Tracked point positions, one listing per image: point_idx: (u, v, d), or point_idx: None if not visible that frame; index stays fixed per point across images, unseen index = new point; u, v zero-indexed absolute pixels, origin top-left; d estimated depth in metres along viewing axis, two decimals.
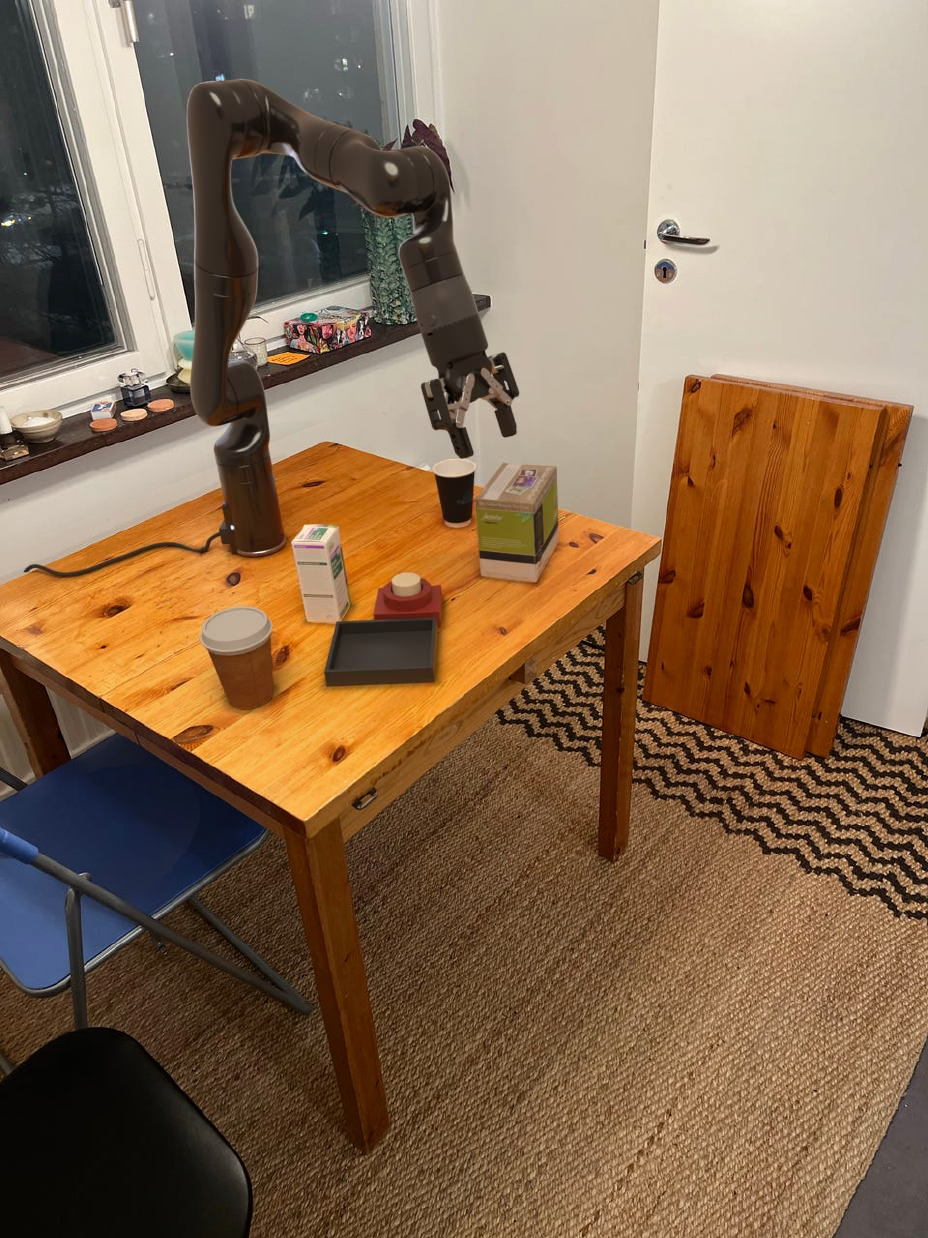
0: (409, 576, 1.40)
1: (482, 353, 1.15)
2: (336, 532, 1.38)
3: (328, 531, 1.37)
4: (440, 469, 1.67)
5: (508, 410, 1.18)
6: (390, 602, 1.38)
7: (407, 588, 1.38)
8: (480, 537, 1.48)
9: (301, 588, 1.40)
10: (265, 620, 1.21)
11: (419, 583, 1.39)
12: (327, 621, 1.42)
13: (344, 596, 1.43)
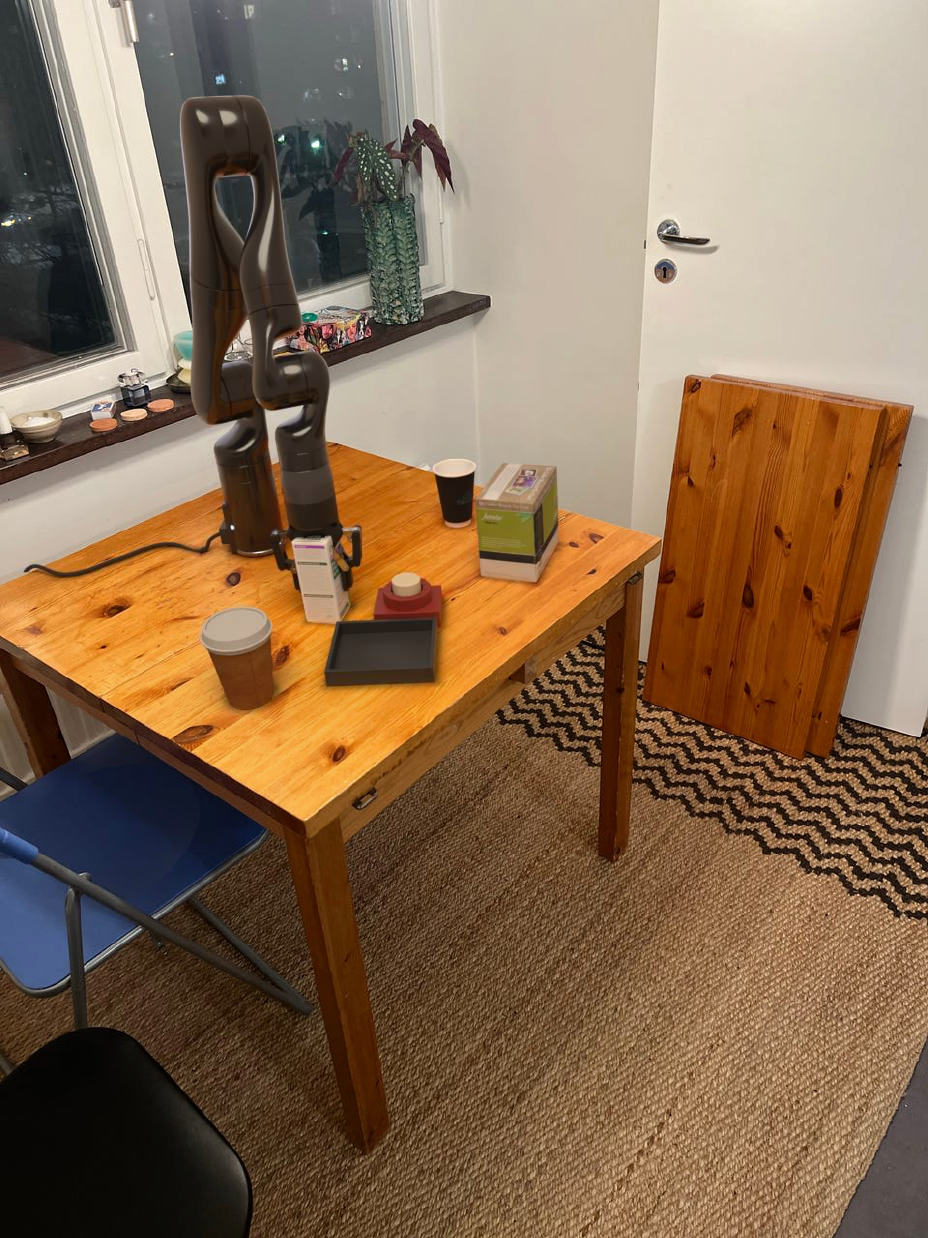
0: (409, 576, 1.40)
1: (331, 524, 1.35)
2: None
3: None
4: (440, 469, 1.67)
5: (343, 573, 1.39)
6: (390, 602, 1.38)
7: (407, 588, 1.38)
8: (480, 537, 1.48)
9: (301, 588, 1.40)
10: (265, 620, 1.21)
11: (419, 583, 1.39)
12: (327, 621, 1.42)
13: (344, 596, 1.43)
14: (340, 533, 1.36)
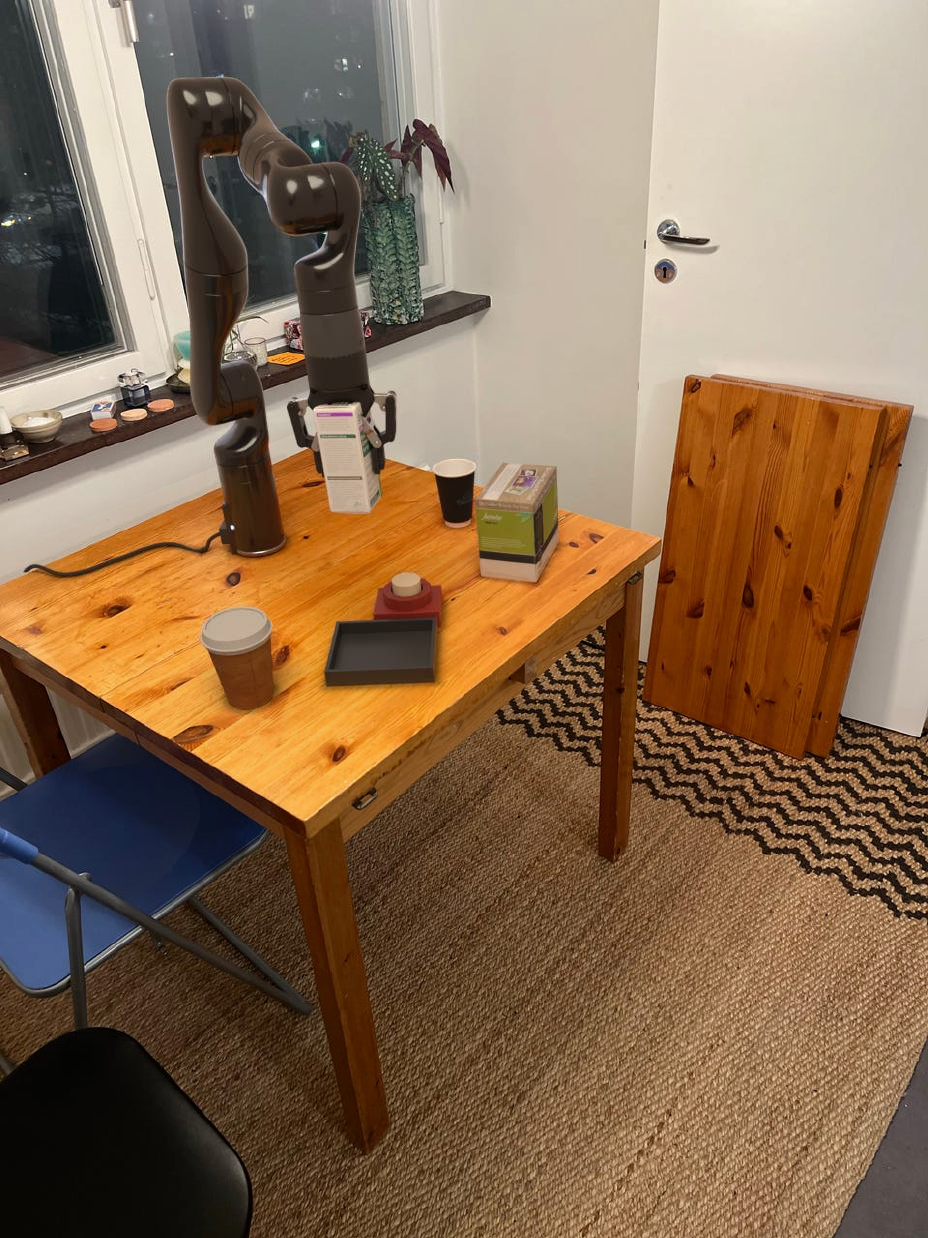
0: (409, 576, 1.40)
1: (361, 387, 1.13)
2: None
3: None
4: (440, 469, 1.67)
5: (374, 451, 1.17)
6: (390, 602, 1.38)
7: (407, 588, 1.38)
8: (480, 537, 1.48)
9: (324, 469, 1.17)
10: (265, 620, 1.21)
11: (419, 583, 1.39)
12: (355, 510, 1.20)
13: (374, 481, 1.20)
14: (371, 399, 1.14)
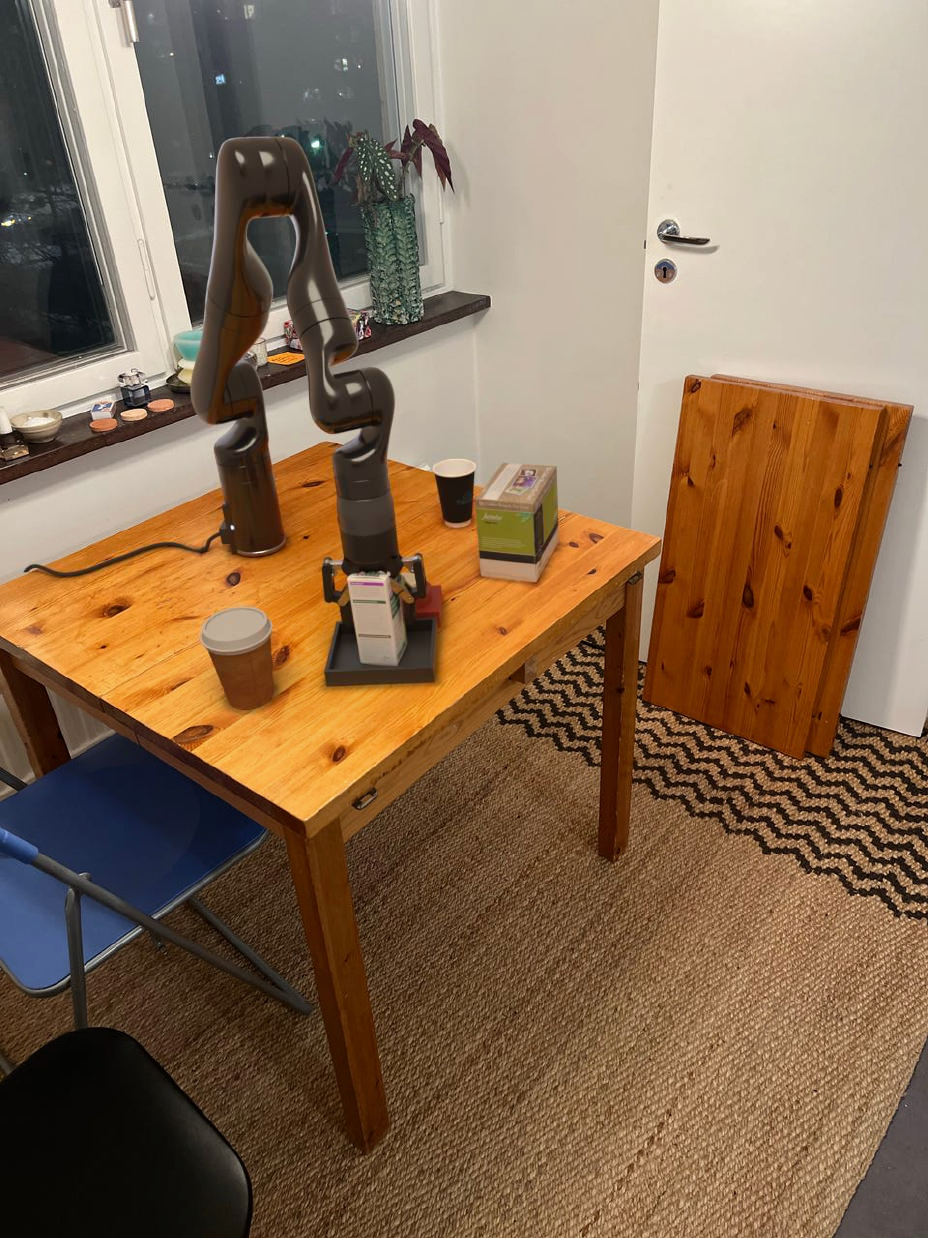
0: (409, 576, 1.40)
1: (391, 556, 1.23)
2: None
3: None
4: (440, 469, 1.67)
5: (407, 606, 1.27)
6: None
7: None
8: (480, 537, 1.48)
9: (356, 628, 1.28)
10: (265, 620, 1.21)
11: None
12: (383, 663, 1.30)
13: (401, 635, 1.31)
14: (400, 566, 1.24)
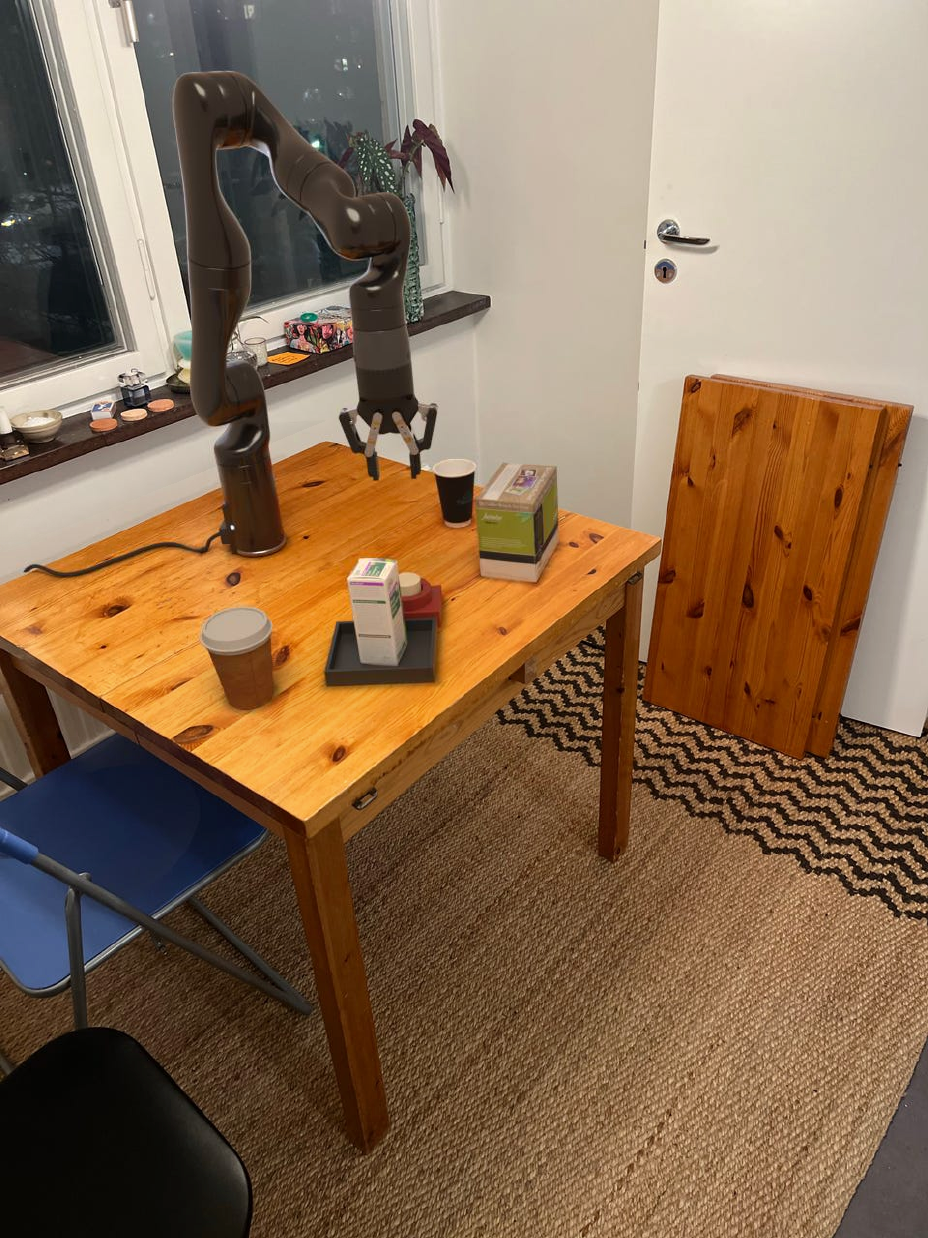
0: (409, 576, 1.40)
1: (407, 397, 1.23)
2: (395, 567, 1.26)
3: (386, 566, 1.25)
4: (440, 469, 1.67)
5: (411, 458, 1.28)
6: None
7: (407, 588, 1.38)
8: (480, 537, 1.48)
9: (356, 628, 1.28)
10: (265, 620, 1.21)
11: (419, 583, 1.39)
12: (383, 663, 1.30)
13: (401, 635, 1.31)
14: (415, 407, 1.24)
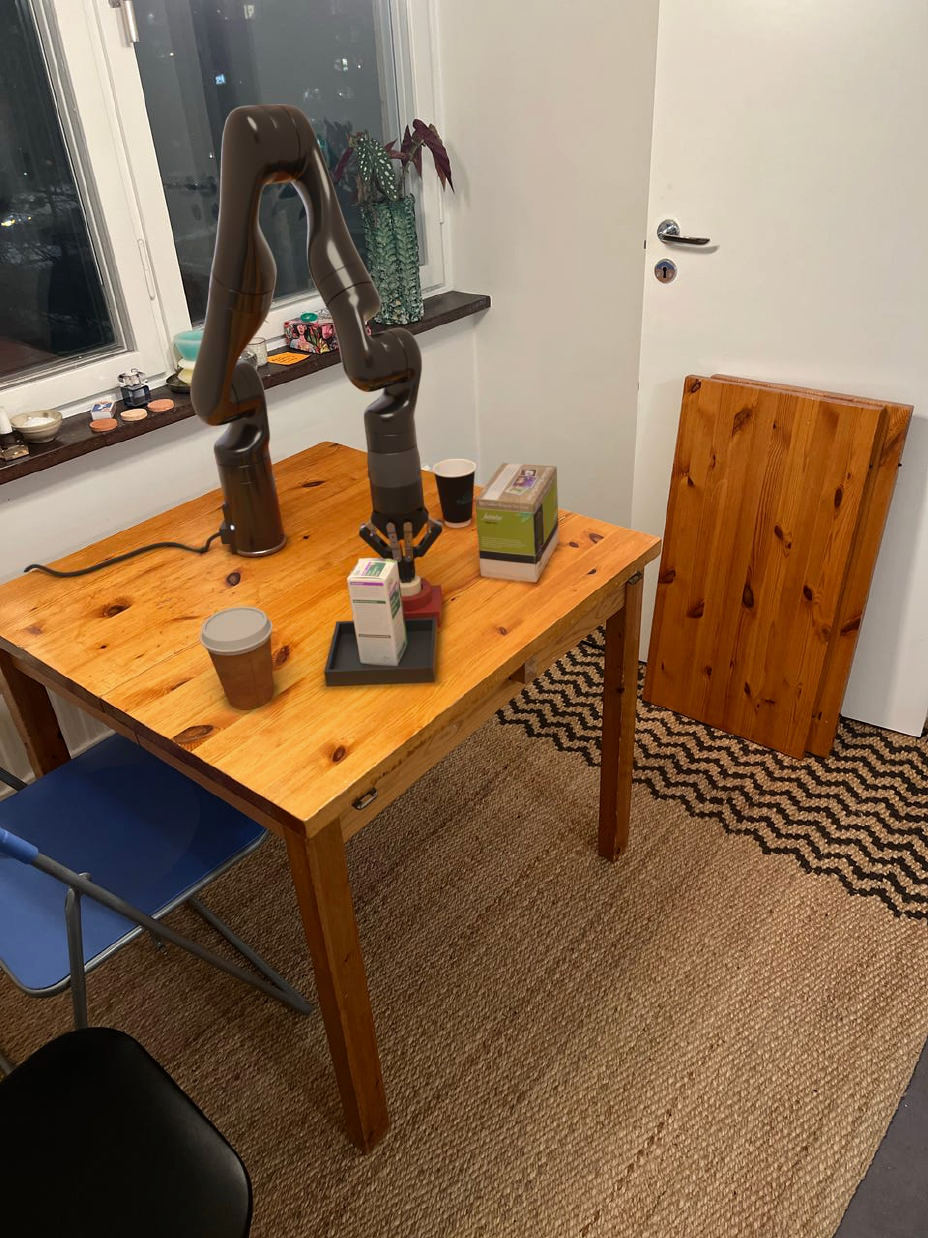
0: None
1: (417, 508, 1.32)
2: (395, 567, 1.26)
3: (386, 566, 1.25)
4: (440, 469, 1.67)
5: (406, 564, 1.37)
6: None
7: (407, 589, 1.38)
8: (480, 537, 1.48)
9: (356, 628, 1.28)
10: (265, 620, 1.21)
11: (419, 584, 1.39)
12: (383, 663, 1.30)
13: (401, 635, 1.31)
14: (426, 517, 1.33)
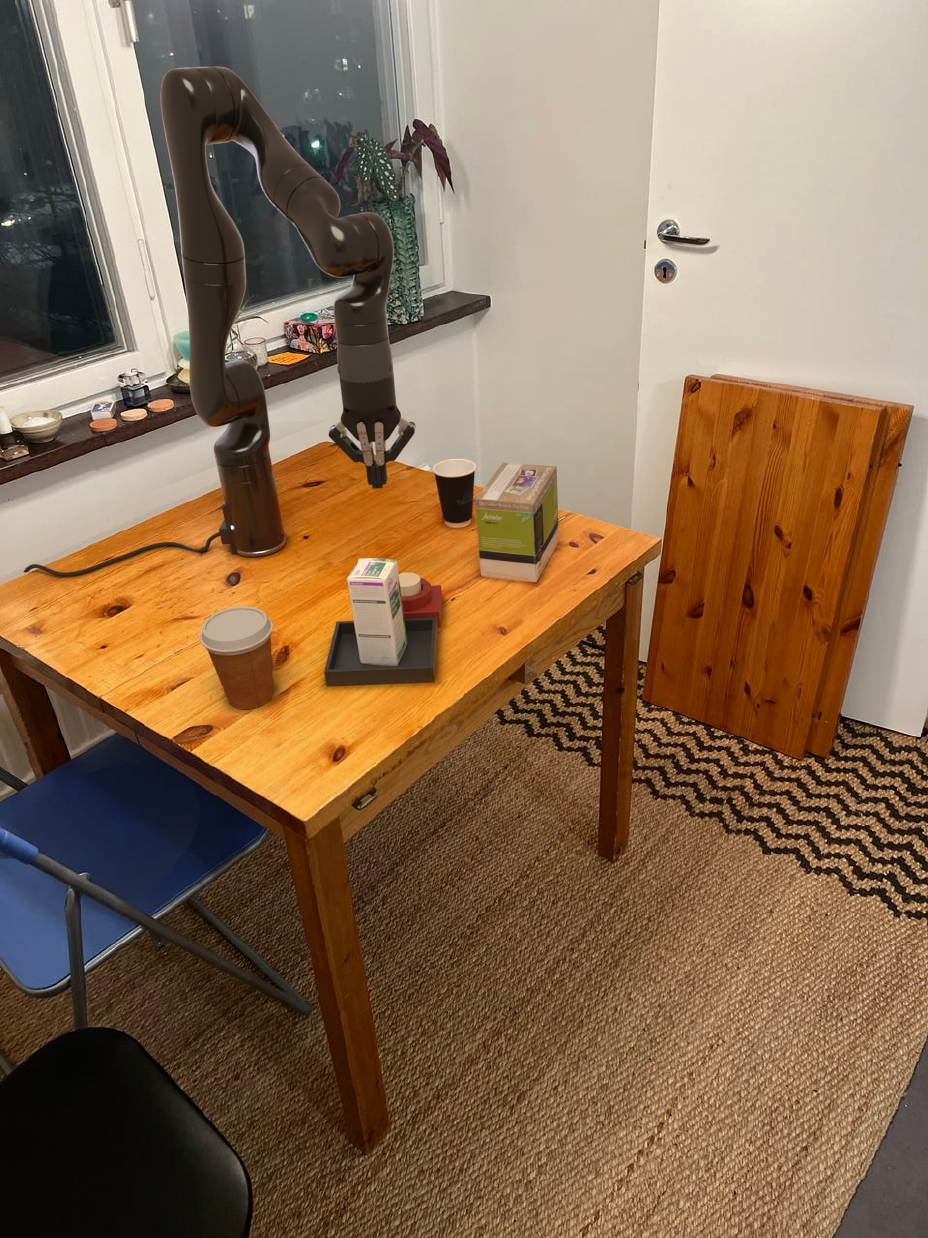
0: (409, 576, 1.40)
1: (389, 408, 1.28)
2: (394, 567, 1.26)
3: (386, 566, 1.25)
4: (440, 469, 1.67)
5: (377, 468, 1.33)
6: None
7: (407, 588, 1.38)
8: (480, 537, 1.48)
9: (356, 628, 1.28)
10: (265, 620, 1.21)
11: (419, 583, 1.39)
12: (383, 663, 1.30)
13: (401, 635, 1.31)
14: (397, 418, 1.29)
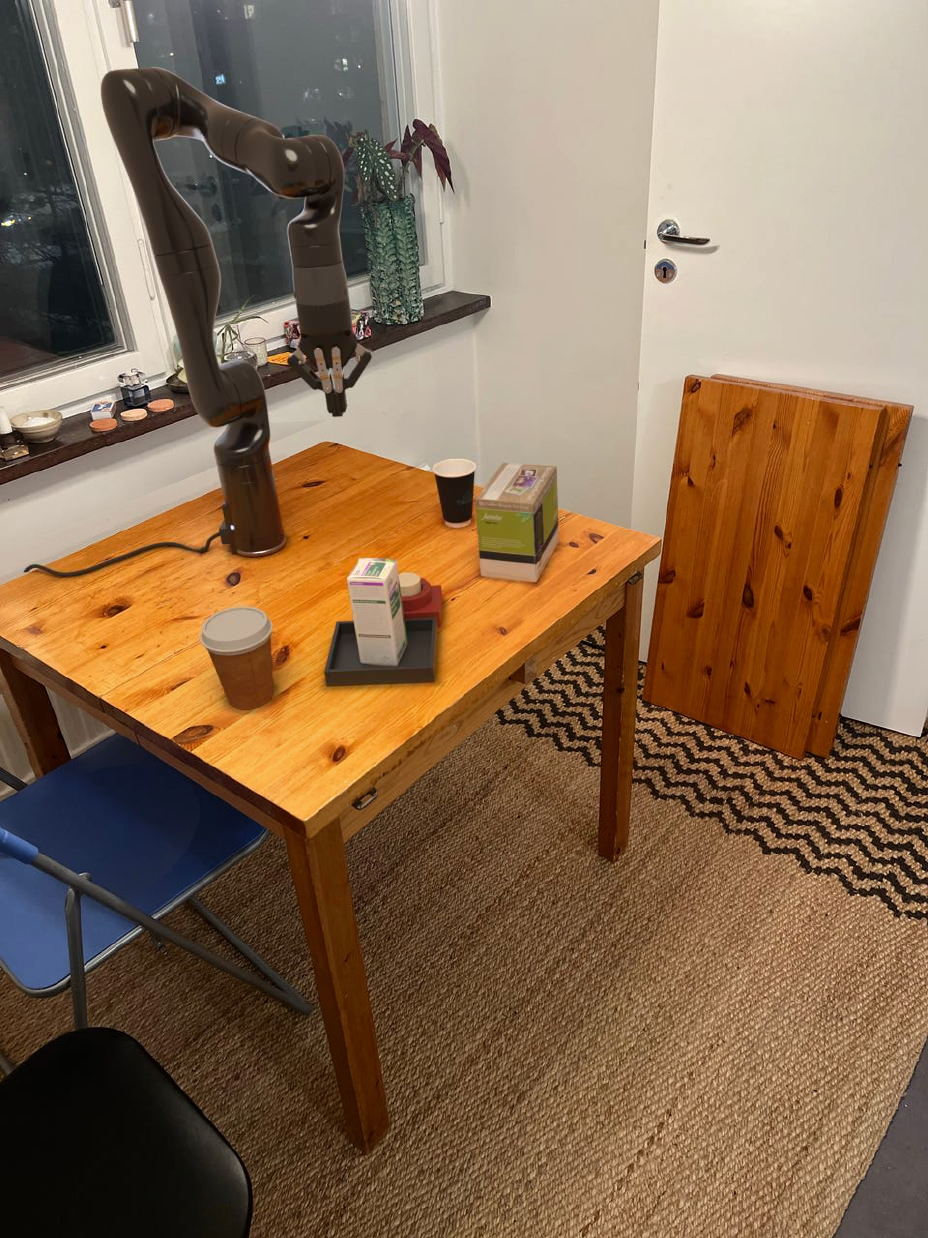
0: (409, 576, 1.40)
1: (345, 333, 1.30)
2: (394, 567, 1.26)
3: (386, 566, 1.25)
4: (440, 469, 1.67)
5: (336, 395, 1.35)
6: None
7: (407, 588, 1.38)
8: (480, 537, 1.48)
9: (356, 628, 1.28)
10: (265, 620, 1.21)
11: (419, 583, 1.39)
12: (383, 663, 1.30)
13: (401, 635, 1.31)
14: (354, 343, 1.31)
